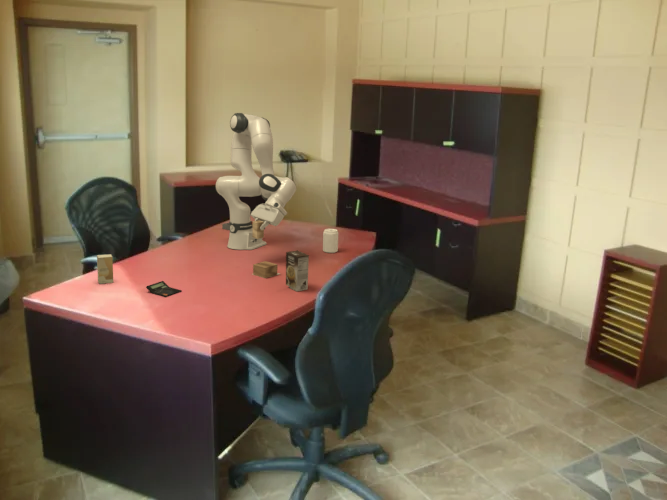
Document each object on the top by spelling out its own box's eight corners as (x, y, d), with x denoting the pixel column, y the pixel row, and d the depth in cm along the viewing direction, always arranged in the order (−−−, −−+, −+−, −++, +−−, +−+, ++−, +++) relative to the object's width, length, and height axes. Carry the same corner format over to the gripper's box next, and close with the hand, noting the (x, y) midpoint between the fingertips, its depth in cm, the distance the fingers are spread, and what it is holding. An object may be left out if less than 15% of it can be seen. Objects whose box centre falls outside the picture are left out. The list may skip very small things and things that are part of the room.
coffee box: (285, 286, 285) (285, 251, 280) (296, 283, 289) (297, 249, 284) (296, 291, 278) (297, 256, 274) (308, 289, 282) (309, 254, 277)
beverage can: (320, 252, 342) (321, 230, 339) (326, 248, 349) (326, 227, 346) (334, 254, 339) (335, 232, 336) (339, 250, 346) (340, 229, 343)
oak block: (259, 236, 315) (259, 220, 313) (263, 237, 312) (263, 221, 310) (252, 237, 313) (252, 221, 310) (257, 238, 310) (257, 222, 308)
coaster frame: (244, 224, 401) (244, 219, 401) (265, 228, 390) (265, 224, 390) (222, 228, 388) (222, 223, 387) (242, 233, 377) (242, 228, 376)
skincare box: (99, 284, 280) (97, 257, 277) (97, 281, 283) (95, 255, 280) (114, 282, 283) (112, 256, 279) (112, 279, 286) (111, 253, 283)
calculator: (165, 298, 266) (165, 291, 265) (146, 292, 272) (145, 285, 271) (181, 292, 274) (181, 285, 273) (162, 287, 280) (162, 280, 279)
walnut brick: (265, 271, 303) (265, 261, 302) (277, 274, 298) (277, 264, 297) (253, 274, 297) (253, 264, 296) (265, 278, 292) (265, 268, 291)
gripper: (258, 198, 320) (241, 220, 316) (281, 205, 305) (265, 228, 301) (265, 206, 324) (249, 227, 320) (289, 213, 309) (272, 236, 305)
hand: (257, 228), depth 311 cm, fingers closed on oak block, 4 cm apart
